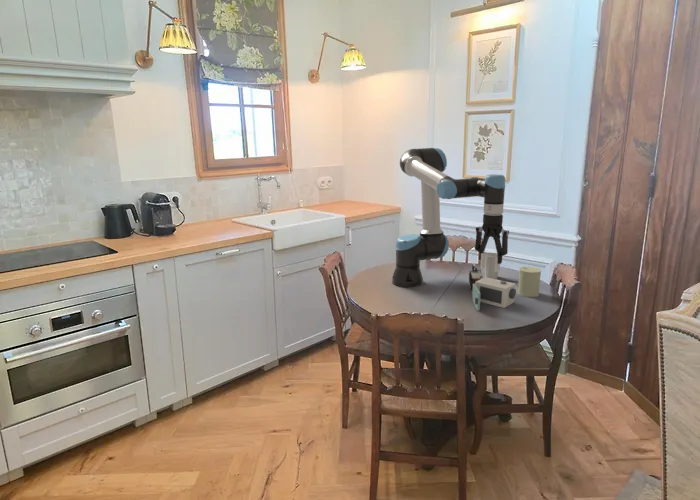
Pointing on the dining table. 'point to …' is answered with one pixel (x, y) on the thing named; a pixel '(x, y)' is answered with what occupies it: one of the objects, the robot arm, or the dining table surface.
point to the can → (529, 281)
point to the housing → (496, 292)
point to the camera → (474, 276)
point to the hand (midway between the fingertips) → (489, 269)
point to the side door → (476, 297)
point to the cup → (490, 266)
